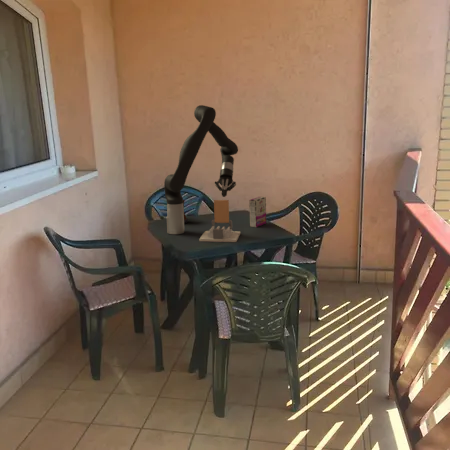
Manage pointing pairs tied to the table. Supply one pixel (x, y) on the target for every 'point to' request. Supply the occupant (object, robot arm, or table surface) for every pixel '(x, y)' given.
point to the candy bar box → (257, 211)
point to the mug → (184, 214)
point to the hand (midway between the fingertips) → (223, 196)
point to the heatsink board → (225, 235)
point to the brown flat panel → (221, 211)
